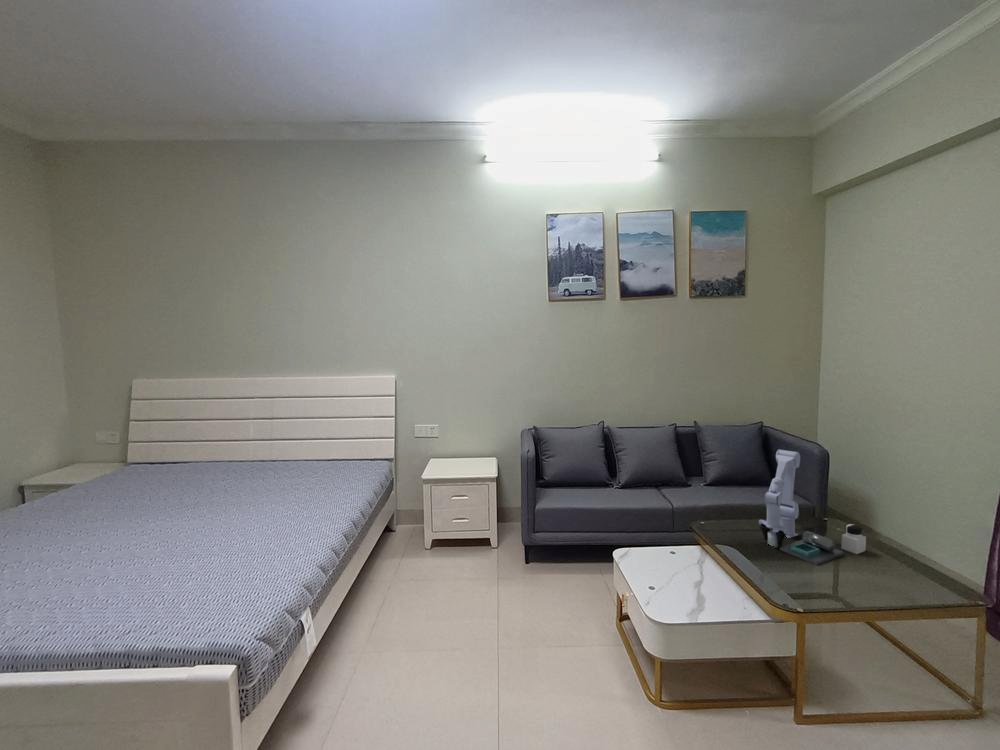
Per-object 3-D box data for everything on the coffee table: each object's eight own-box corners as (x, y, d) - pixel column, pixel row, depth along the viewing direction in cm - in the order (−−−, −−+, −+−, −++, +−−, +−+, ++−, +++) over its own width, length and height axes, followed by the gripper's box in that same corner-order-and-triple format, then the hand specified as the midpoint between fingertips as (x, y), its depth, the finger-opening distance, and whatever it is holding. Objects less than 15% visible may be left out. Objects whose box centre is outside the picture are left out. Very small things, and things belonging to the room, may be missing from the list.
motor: (779, 550, 242) (779, 535, 241) (806, 540, 250) (806, 527, 250) (816, 565, 226) (816, 550, 225) (844, 555, 234) (844, 540, 233)
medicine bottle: (866, 551, 237) (866, 526, 236) (857, 554, 234) (857, 529, 233) (850, 545, 243) (850, 521, 242) (841, 548, 240) (841, 524, 239)
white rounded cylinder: (765, 544, 248) (765, 532, 248) (772, 542, 250) (772, 530, 250) (774, 548, 244) (774, 535, 243) (780, 546, 246) (781, 533, 245)
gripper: (754, 512, 251) (754, 538, 252) (781, 522, 238) (781, 549, 239) (764, 510, 254) (764, 535, 255) (791, 519, 241) (791, 546, 242)
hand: (773, 542), depth 247 cm, fingers open, 6 cm apart
